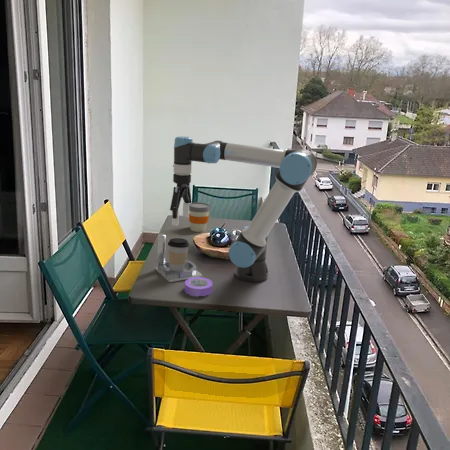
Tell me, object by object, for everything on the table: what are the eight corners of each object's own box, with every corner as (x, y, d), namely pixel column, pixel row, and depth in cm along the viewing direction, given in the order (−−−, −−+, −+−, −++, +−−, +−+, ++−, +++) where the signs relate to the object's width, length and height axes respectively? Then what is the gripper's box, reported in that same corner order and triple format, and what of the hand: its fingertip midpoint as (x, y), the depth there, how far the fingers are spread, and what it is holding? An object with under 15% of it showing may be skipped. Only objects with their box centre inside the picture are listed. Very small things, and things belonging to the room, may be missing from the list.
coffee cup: (182, 277, 200) (184, 244, 197) (162, 273, 203) (164, 240, 200) (190, 271, 209) (192, 239, 206) (171, 267, 212) (173, 236, 209)
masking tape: (184, 296, 187) (184, 288, 185) (184, 284, 198) (184, 276, 197) (213, 297, 188) (213, 289, 186) (211, 285, 199) (212, 277, 198)
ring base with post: (202, 276, 206) (204, 241, 201) (169, 282, 198) (170, 245, 193) (186, 264, 219) (188, 230, 214) (155, 269, 211) (156, 234, 207)
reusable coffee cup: (186, 231, 267) (187, 207, 262) (188, 225, 279) (189, 201, 274) (207, 233, 267) (209, 208, 262) (209, 227, 279) (210, 203, 274)
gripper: (183, 168, 208) (182, 213, 214) (162, 177, 185) (161, 227, 191) (199, 169, 206) (197, 215, 212) (180, 179, 183) (178, 230, 189)
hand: (180, 221), depth 202 cm, fingers open, 13 cm apart
